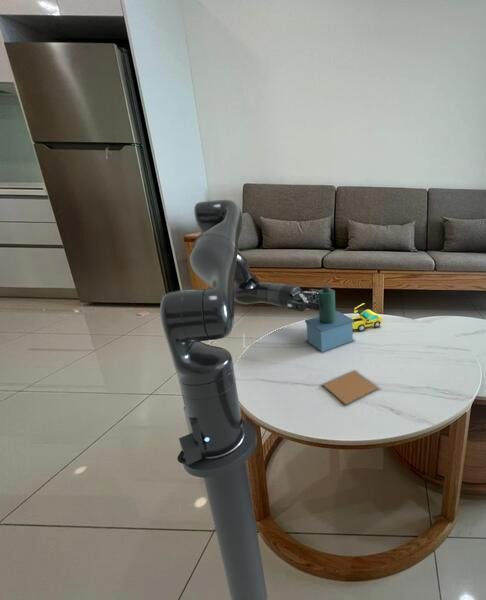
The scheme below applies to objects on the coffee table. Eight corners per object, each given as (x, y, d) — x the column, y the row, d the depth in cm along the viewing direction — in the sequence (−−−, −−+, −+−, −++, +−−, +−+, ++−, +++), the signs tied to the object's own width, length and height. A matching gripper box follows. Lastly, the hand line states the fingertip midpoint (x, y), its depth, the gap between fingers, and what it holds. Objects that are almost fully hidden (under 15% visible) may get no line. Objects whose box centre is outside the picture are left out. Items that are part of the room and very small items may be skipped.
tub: (321, 352, 100) (320, 330, 97) (306, 341, 107) (304, 319, 104) (354, 340, 108) (353, 319, 105) (337, 331, 115) (337, 310, 112)
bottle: (328, 325, 101) (327, 290, 97) (316, 321, 103) (314, 287, 99) (338, 319, 105) (338, 285, 101) (326, 316, 108) (325, 282, 104)
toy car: (373, 319, 125) (373, 299, 122) (383, 327, 119) (384, 306, 116) (344, 325, 119) (344, 304, 116) (353, 333, 113) (353, 312, 110)
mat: (345, 405, 77) (345, 403, 77) (323, 385, 84) (323, 384, 84) (377, 389, 83) (377, 387, 83) (354, 372, 90) (354, 371, 90)
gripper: (269, 291, 100) (314, 298, 95) (296, 279, 113) (337, 285, 108) (271, 313, 103) (315, 321, 98) (297, 299, 115) (338, 306, 110)
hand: (327, 302), depth 103 cm, fingers open, 8 cm apart
